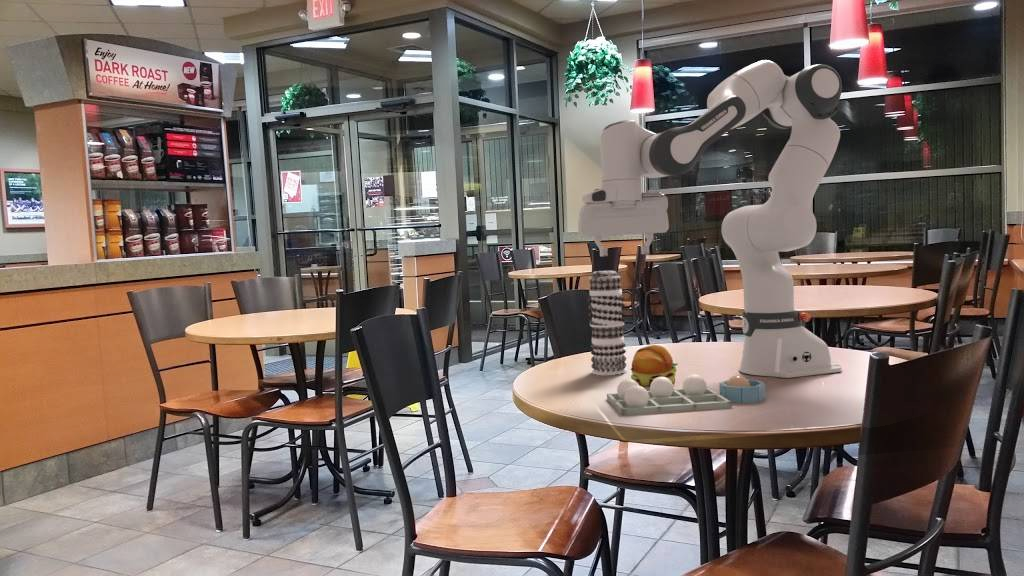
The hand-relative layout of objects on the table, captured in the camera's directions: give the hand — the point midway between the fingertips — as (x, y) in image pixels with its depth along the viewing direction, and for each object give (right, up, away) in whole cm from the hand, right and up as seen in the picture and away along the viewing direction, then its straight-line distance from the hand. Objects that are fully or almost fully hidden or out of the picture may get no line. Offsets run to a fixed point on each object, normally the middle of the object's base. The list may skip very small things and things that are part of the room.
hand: (624, 255), depth 172 cm
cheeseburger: (+6, -29, -3) cm, 30 cm away
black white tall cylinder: (-1, -28, +16) cm, 33 cm away
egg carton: (+5, -31, -23) cm, 39 cm away
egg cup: (+20, -30, -22) cm, 42 cm away
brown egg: (+20, -29, -22) cm, 42 cm away
